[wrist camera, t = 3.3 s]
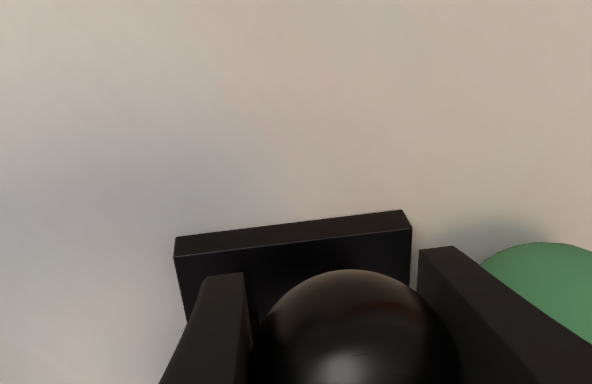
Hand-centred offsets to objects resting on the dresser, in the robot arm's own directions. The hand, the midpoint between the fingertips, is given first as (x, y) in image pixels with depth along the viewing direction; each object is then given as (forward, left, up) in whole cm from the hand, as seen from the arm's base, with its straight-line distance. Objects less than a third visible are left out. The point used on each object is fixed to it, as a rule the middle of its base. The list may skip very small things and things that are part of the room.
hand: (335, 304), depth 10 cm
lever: (0, -4, -1) cm, 4 cm away
